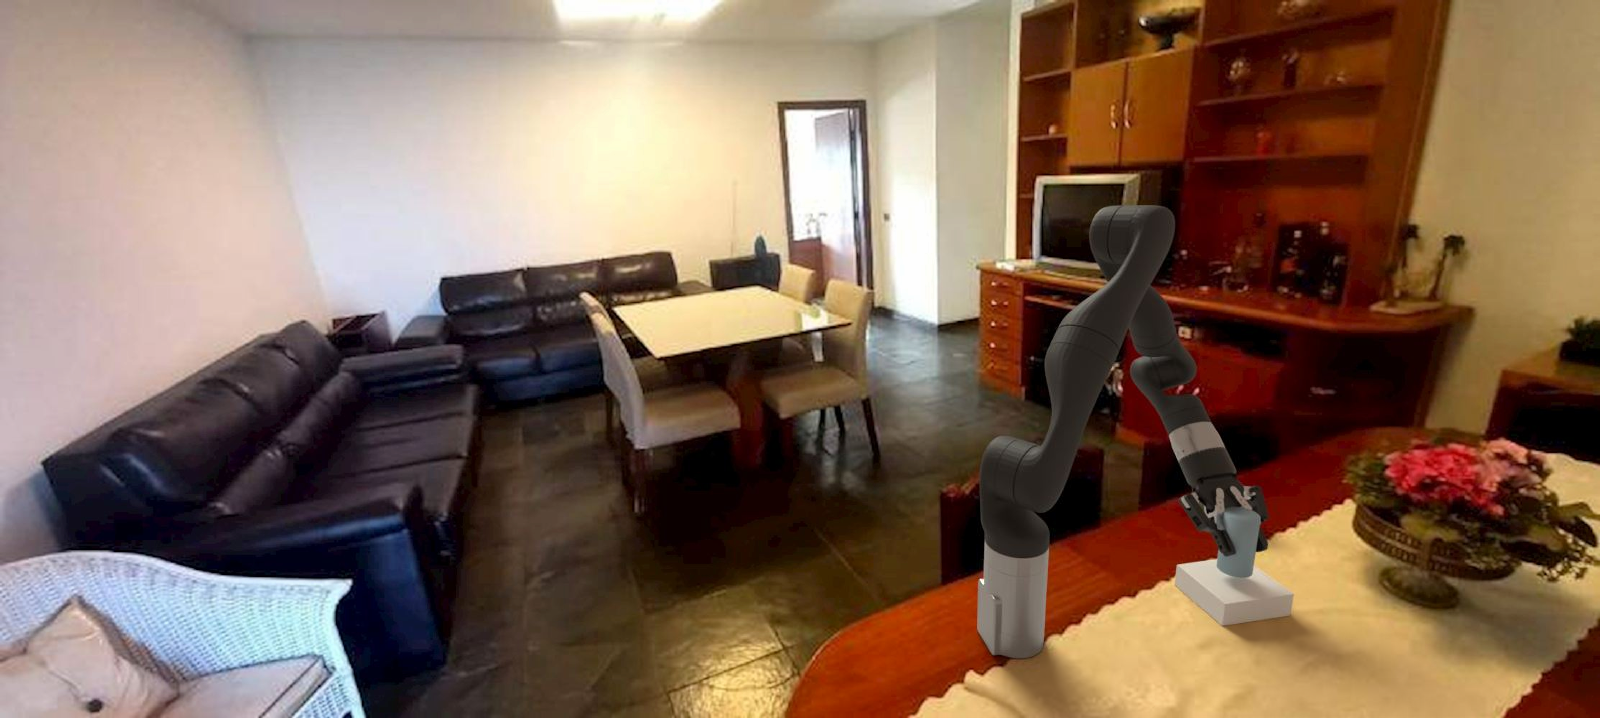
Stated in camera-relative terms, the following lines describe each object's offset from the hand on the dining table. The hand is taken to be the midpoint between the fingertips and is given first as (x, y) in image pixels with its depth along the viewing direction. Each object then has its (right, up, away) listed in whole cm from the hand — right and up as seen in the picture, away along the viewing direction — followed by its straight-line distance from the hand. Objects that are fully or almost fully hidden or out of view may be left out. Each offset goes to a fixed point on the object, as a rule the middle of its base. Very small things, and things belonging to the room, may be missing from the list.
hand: (1246, 552), depth 106 cm
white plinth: (0, -9, +4) cm, 10 cm away
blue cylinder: (0, -4, +3) cm, 5 cm away
